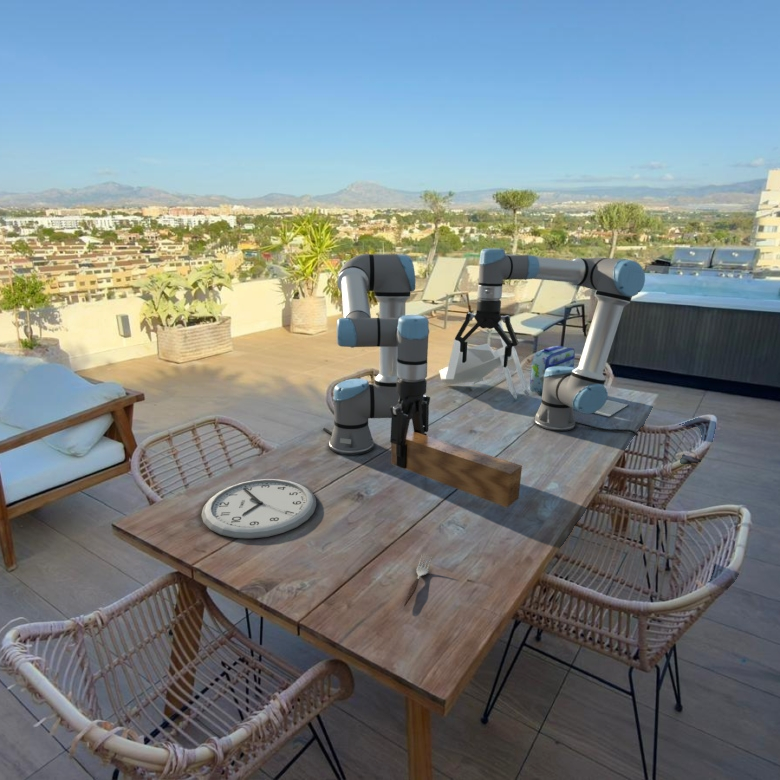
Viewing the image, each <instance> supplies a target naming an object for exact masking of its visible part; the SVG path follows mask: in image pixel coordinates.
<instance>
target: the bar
mask: <svg viewBox="0 0 780 780" xmlns="http://www.w3.org/2000/svg"><path fill="white" fill-rule="evenodd" d="M390 443H391V442H390ZM405 444H407V468H405V469H404V468H402V467H399V466H397V455H396V444H393V443H391V444H390V464H391V465H393V466H395V467H398V468H400V469H403V470H406V471H409V472H411V473H414V474H417V475H419V476H423V477H424V478H427V479H430V480H432V481H435V482H438V483H441V484H443V485H445V486H448V487H452V488H454V489H456V490H459V491H460V492H461V491H462V492H464V493H467V494H470V495H472V496H475V497H476V498H477V497H478V498H480V499H483V500H486V501H488V502H490V503H494V504H496V505H499V506H502V507H504V508H506V509H507V508H509V507H510V506H512V505H513V504H514V503H516V502H517V501H518V500H519V499H520V488H521V481H522V480H521V479H522V469H523V468H522V467H523V465H521V464H518V463H515V462H511V461H508V460H506V459H503V458H498V457H496V456H493V455H489V454H486V453H483V452H480V451H477V450H474V449H471V448H468V447H465V446H461V445H459V444H456V443H455V444H454V443H451V442H449V441H446V440H442V439H439V438H436V437H434V436H433V437H432V436H429V435H423V434H420V433H417V432H414V430H411V429H408V432H407V436H406V441H405Z"/></svg>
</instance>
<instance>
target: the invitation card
mask: <svg viewBox="0 0 780 780" xmlns="http://www.w3.org/2000/svg"><path fill="white" fill-rule="evenodd" d="M628 406H629V404H627V403H623V402H618V401H614V400H609V399H607V400H606V402H605V404H604V405H603V407H602V408H601V409H599V410H597V411H596V412H594V413H593V414H596V415H600V416H604V417H608V418H609V417H611V416H613V415H614V414H616V413H617V412H619V411H621V410H623V409H624V408H626V407H628Z"/></svg>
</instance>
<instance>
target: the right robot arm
mask: <svg viewBox="0 0 780 780" xmlns="http://www.w3.org/2000/svg"><path fill="white" fill-rule="evenodd" d="M506 280H507V281H508V280H514V281H515V280H516V281H517V280H520V281H521V280H522V281H523V280H524V281H527V280H541V281H542V280H543V281H552V282H563V283H564V282H565V283H569V284H570V285H572V286H576V287H583V288H586V289H590V290H594V291H595V294H594V296H595V298H596V300H597V303H596V307H595V310H594V313H593V317H592V320H591V323H590V325H589V326H590V327H589V330H588V332H587V336H586V339H585V343H584V347H583V348H582V352H581V355H580V359H579V362H578V365H577V367H574V368H573V367H564V366H556V367H549V368H547V369H546V370H545V374H544V381H543V392H542V393H541V402H540V405H539V407H538V410H537V411H536V413H535V417H534V424H535V425H536V426H537V427H539V428H542V429H544V430H549V431H556V432H567V431H572V430H574V429H575V428H576V425H577V426H578V425H579V426H581V427H586V428H588V429H589V428H590V429H593V430H598V431H603V432H619V433H620V432H622V433H631V434H633V435H634V436H637V437H639V433H637V432H636V431H635V430H633V429H628V428H625V429H622V428H606V427H605V428H603V427H598V426H594V425H591V424H587V423H583V422H579V421H576V418H575V417H576V416H575V413H574V411H576V412H578V413H579V412H580V413H582V414H585V415H590V414H595V413H594V412H596V411H597V410H599V409H601V408H602V407H603V405H604V404H605V402H606V400H608V393H609V392H608V390H607V388H606V387H605V382H606V377H605V375H604V371H605V369H606V364H607V361H608V358H609V354H610V351H611V349H612V346H613V342H614V339H615V336H616V333H617V330H618V327H619V323H620V320H621V317H622V313H623V312H624V308H625V306H627V305H629V304H630V303H631V301H632V298H633V297H635V296H637V295H638V294H639V293H640V292H641V291H642V290H643V288H644V286H645V282H646V274H645V271H644V269H643V266H642V264H640V263H639V262H637V261H635V260H631V259H628V258H627V259H626V258H611V257H593V258H580V257H576V258H574V259H562V258H553V257H543V256H536V255H530V254H511V253H506V250H505V249H504V248H483V249H481V251H480V255H479V262H478V284H477V296H476V297H477V298H478V299H477V300H476V309H475V310H476V311H475V313H472V312H467V313H466V314H465V319H464V321H463V323H462V325H461V326H460V329H459V330H458V332H457V333H456V336H454V339H455V340H457V341H459V342H460V352H463V357H462V363H465V362H466V359H467V345H468V341H467V340H468V338H469V337H471V336H472V335H473V334H474V332H475V331H477V330H478V328H479V327H480V328H481V329H489V330H492V329H494V330H495V331H496V333H497V334H498V336H499V337H500V336H501V338H502V339H503V341H504V342H505V343H506V345H507V346H506V347H505V354H504V366H503V367H506V366H507V365H508V363H509V360H508V357H510V356H511V354H512V347H513V346H514V347H517V346H518V345H519V340H518V338H517V335H516V332H515V330H514V328H513V325H512V323H511V316H510V315H509V314H507V315H501V308H502V296H503V295H502V294H503V283H504V281H506ZM500 299H501V300H500ZM473 319H474V320H475V321H476V323H475V324H474V325H473V327H472V328H470V329H469V331H468V332H466V334H465V335H463V334H464V333H465V331H466V328H467V327H468V326H469V323H470V322H471V321H472V320H473ZM499 321H502V322H503V324H505V327H506V330H507V332H508V335H509V337H510V338H509V337H508V335H507V334H506V332H505V331H504V329H503V330H502V328H501V326H500V325H499ZM501 338H500V339H501ZM503 367H502V368H503Z"/></svg>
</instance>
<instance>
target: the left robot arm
mask: <svg viewBox="0 0 780 780" xmlns="http://www.w3.org/2000/svg"><path fill="white" fill-rule="evenodd" d="M415 272H416V271H415V266H414V263H413V260H412V258H411V256H409V255H408V254H401V253H399V254H398V253H394V254H393V253H392V254H391V253H382V254H380V253H363V254H358V255H356V256H354V257H352V258H350V259H348V260H347V261H346V262H345V263H344V264H343V265H342V266H341V268H340V269H339V270H338V274H337V281H336V282H337V288H338V290H339V291H340V292H341V305H342V307H341V308H342V317H340V318H338V319H337V320H336V343H337V345H338V346H339V347H342V348H351V349H352V348H371V347H372V348H375V347H376V348H377V347H378V349H379V350H378V352H379V353H378V354H379V355H378V357H379V358H378V362H379V363H378V364H379V365H378V369H379V370H378V374H377V375H376V377H375V378H374V383H370V382H369V381H368V380H367V379H365V378H349V379H346V380H342V381H340V382H338V383H337V384H336V385H335V386H334V388H333V398H332V399H333V421H334V422H333V424H334V425H333V429H332V431H330V430H329V429H328V428H326V427H323V428H322V430H323V431H324V432H325V433H327V434H329V435H331V437H330V438H329V442H328V447H329V449H330V451H332V452H333V453H335V454H339V455H342V456H343V455H344V456H356V455H362V454H367V453H369V452H370V451H372V450H373V448H374V438H373V436H372V431H371V429H370V427H369V419H391V421H390V440H389V441H390V443H393V444H396V455H397V466H396V467H398V466H399V467H398V468H400V467H402V468H401V469H403V468H404V469H403V470H406V469H405V468H407V444H405V441H406V436H407V432H408V430H409V428H410V427H409V426H410V421H411V423H412V428H413V431H414V432H417V433H420V434H423V435H426V436H428V435H427V433H428V432H429V415H430V414H429V412H430V411H429V410H430V409H429V408H430V407H429V406H430V403H431V402H430V401H431V397H430V396H429V395H428V396H427V395H425V394H426V393H427V382H428V381H427V377H428V356H429V355H428V351H429V335H430V328H429V326H430V324H429V318H428V317H427V316H424V315H418V314H406V302H407V301H408V300H409V299H410V298H411V293H413V292H414V291H415V290H416V282H417V281H416V273H415ZM368 292H374V298H375V299H376V300H377V302H378V304H379V306H378V307H379V308H378V310H379V314H378V316H379V317H372V316H371V314H372V313H371V309H370V302H369V296H368V295H369V294H368Z"/></svg>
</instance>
